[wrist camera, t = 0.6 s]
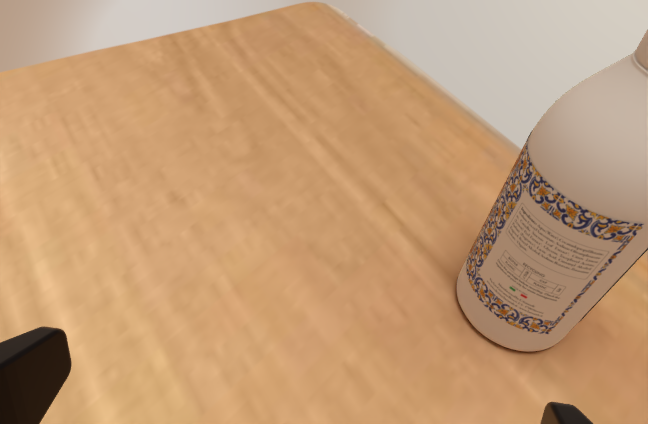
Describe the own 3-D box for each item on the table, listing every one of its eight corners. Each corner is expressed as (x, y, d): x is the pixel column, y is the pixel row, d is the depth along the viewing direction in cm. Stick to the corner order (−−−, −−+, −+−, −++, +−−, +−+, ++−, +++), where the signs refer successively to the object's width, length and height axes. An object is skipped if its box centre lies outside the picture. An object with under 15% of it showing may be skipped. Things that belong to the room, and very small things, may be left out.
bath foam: (522, 248, 34) (725, -73, 19) (590, 336, 29) (920, 11, 15) (433, 271, 32) (585, -68, 17) (493, 370, 27) (765, 31, 13)
